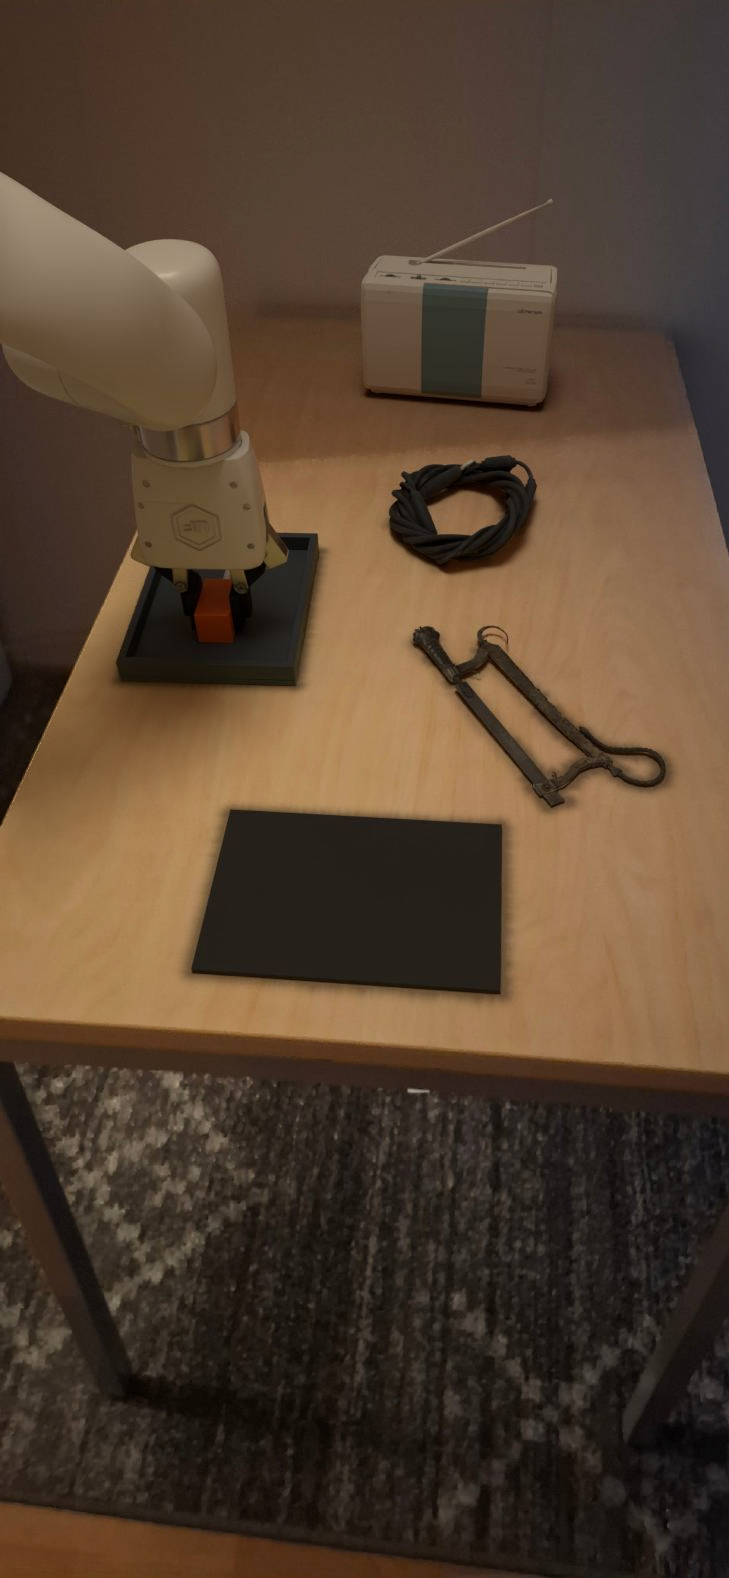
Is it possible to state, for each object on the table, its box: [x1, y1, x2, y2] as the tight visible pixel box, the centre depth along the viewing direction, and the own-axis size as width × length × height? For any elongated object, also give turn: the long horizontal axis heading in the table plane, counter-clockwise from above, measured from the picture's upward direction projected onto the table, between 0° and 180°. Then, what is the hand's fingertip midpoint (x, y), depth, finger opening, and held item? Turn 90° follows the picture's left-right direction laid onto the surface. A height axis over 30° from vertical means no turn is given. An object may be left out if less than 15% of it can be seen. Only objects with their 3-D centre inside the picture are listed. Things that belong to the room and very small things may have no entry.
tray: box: [115, 532, 320, 687], centre depth 93 cm, size 19×15×2 cm
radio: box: [360, 198, 558, 407], centre depth 114 cm, size 21×8×20 cm, turn 77°
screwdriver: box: [194, 570, 236, 643], centre depth 93 cm, size 13×3×3 cm, turn 176°
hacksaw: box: [412, 625, 667, 806], centre depth 84 cm, size 24×10×2 cm, turn 26°
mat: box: [190, 808, 503, 994], centre depth 72 cm, size 20×14×1 cm
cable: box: [388, 454, 538, 565], centre depth 101 cm, size 17×14×4 cm
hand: (220, 619), depth 91 cm, fingers closed on screwdriver, 3 cm apart
